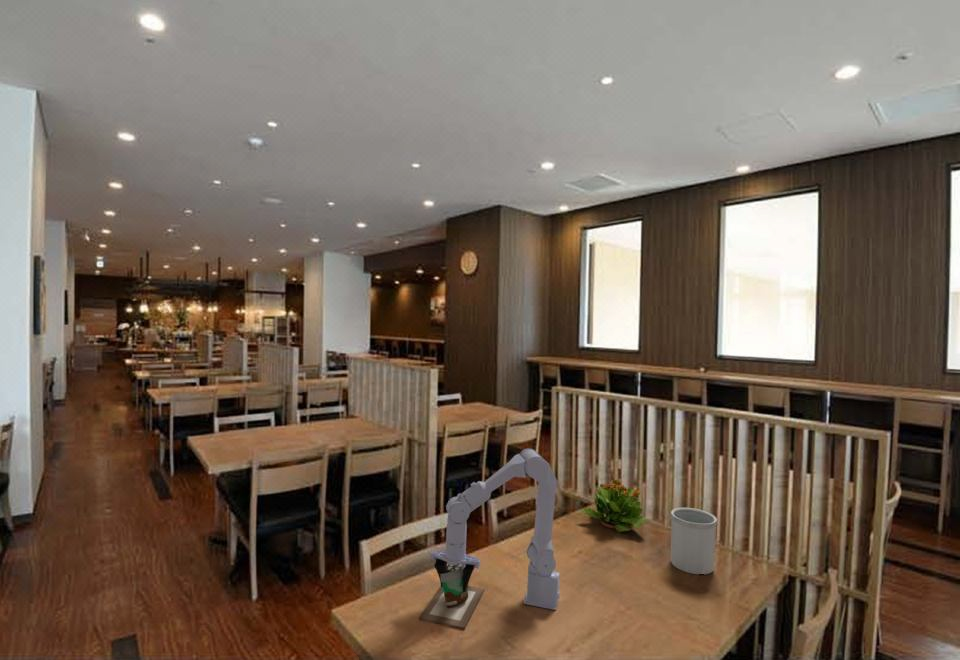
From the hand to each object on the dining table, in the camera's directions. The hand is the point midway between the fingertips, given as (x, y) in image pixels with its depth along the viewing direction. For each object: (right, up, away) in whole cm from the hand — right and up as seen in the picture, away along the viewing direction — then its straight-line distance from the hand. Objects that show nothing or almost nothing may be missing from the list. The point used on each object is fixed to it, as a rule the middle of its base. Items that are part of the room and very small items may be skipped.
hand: (454, 587), depth 143 cm
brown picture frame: (0, -5, 0) cm, 5 cm away
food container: (+2, -4, +1) cm, 5 cm away
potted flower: (+62, -7, +64) cm, 89 cm away
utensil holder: (+81, -8, +31) cm, 87 cm away
